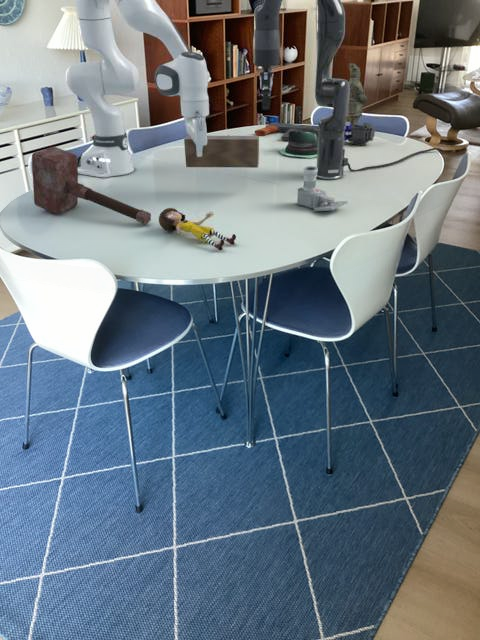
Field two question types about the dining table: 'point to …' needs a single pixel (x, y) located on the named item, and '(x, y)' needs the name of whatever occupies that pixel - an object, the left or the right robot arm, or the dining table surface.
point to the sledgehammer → (69, 186)
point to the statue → (355, 96)
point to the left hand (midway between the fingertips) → (197, 153)
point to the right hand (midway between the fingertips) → (266, 107)
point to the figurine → (191, 227)
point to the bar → (224, 152)
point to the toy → (359, 133)
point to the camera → (315, 193)
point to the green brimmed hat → (302, 143)
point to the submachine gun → (282, 129)
